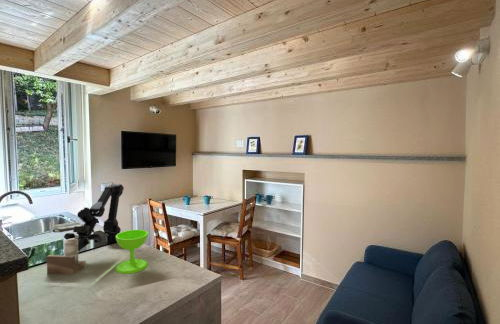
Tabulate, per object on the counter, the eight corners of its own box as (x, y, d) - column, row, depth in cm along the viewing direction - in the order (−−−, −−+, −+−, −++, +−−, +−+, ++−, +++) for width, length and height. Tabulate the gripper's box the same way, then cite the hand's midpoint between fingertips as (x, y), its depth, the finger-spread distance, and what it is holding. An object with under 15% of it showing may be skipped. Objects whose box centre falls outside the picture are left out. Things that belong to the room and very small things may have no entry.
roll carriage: (69, 262, 141) (69, 236, 141) (85, 263, 141) (85, 237, 140) (56, 270, 132) (56, 242, 132) (73, 270, 132) (73, 243, 131)
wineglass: (150, 269, 139) (150, 236, 138) (117, 276, 130) (117, 241, 129) (144, 258, 152) (145, 228, 151) (114, 263, 144) (114, 232, 143)
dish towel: (78, 223, 215) (78, 219, 215) (83, 228, 203) (83, 224, 202) (50, 227, 202) (50, 223, 202) (53, 233, 190) (53, 229, 189)
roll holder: (72, 259, 147) (72, 242, 147) (96, 260, 147) (96, 243, 146) (45, 276, 128) (45, 256, 128) (73, 277, 128) (72, 257, 128)
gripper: (65, 218, 144) (50, 245, 134) (98, 220, 144) (85, 247, 133) (75, 228, 153) (61, 254, 142) (106, 229, 152) (95, 255, 142)
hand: (75, 252), depth 140 cm, fingers closed, pressing on roll carriage
